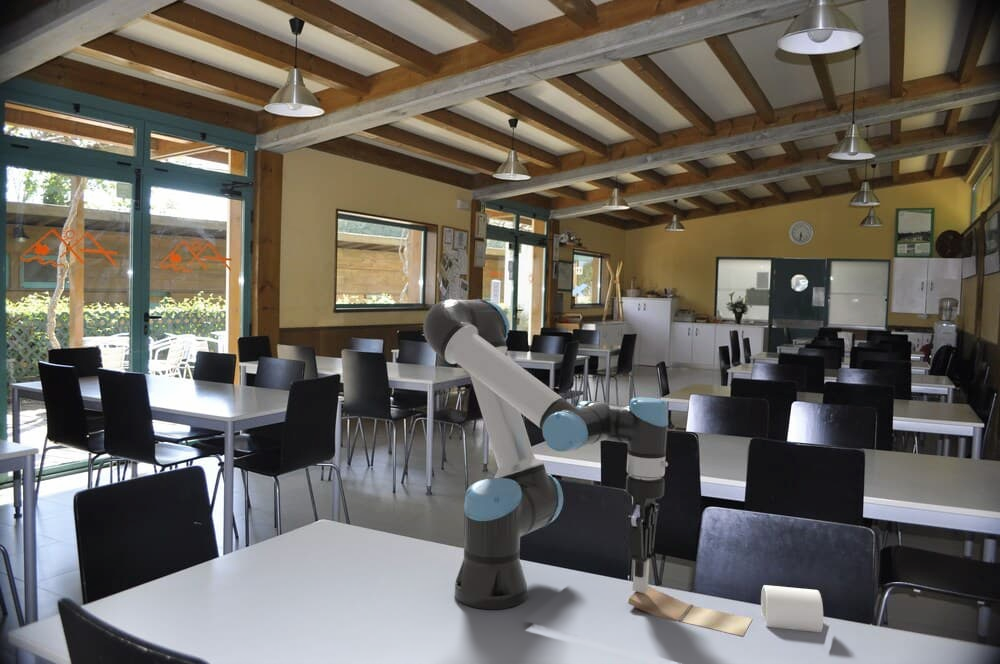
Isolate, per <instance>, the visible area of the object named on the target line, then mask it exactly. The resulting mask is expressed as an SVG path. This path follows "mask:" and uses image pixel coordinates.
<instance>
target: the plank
mask: <svg viewBox="0 0 1000 664" xmlns="http://www.w3.org/2000/svg"><path fill="white" fill-rule="evenodd" d="M627 604H629V605H630V606H633V607H635V608H636V609H639V610H641V611H643V612H646V613H647V614H649V615H651V616H655V617H659V618H664V619H668V620H671V621H675V622H679V621H678V620H679V618H680V617H681V616H682V615H683V613H684V612H685V611H686V609H687V608H688V607H689V606H690V604H688V603H686V602H684V601H682V600H680V599H678V598H675V597H673V596H671V595H668V594H666V593H664V592H663V591H660V590H658V589H656V588H653V587H651V586H649V585H648V591H647V592H646V593H641V592H637V591H634V593H632V595H630V596H629V599H628V602H627Z"/></svg>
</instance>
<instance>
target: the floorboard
mask: <svg viewBox="0 0 1000 664" xmlns="http://www.w3.org/2000/svg"><path fill="white" fill-rule="evenodd" d="M689 605H690V606H689V607H688V608H687V609H686V611H685V612H684V613H683V615H682V616H681V617H680V618H679V620H678V621H677V622H680V623H683V624H689V625H692V626H696V627H701V628H706V629H710V630H713V631H717V632H718V631H719V632H720V633H721V632H723V633H725V634H728V635H729V634H730V635H734V636H738V637H742V638H743V637H744V636H745V634H746V633H747V632H746V631H747V630H748V628H749V626H750V625H751V622H752V621H753V619H752V618H750V617H746V616H742V615H737V614H736V615H735V614H732V613H728V612H722V611H720V610H719V611H718V610H714V609H710V608H705V607H702V606H701V607H700V606H696V605H694V604H689Z"/></svg>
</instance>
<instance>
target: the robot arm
mask: <svg viewBox="0 0 1000 664" xmlns="http://www.w3.org/2000/svg"><path fill="white" fill-rule="evenodd" d="M422 327H423V329H422V330H423V334H424V338H425V340H426V342H427V343H428V346H429V347H430V348H431V349H432V350H433V351H434V352H435V353H436V355H438V356H440V357H441V358H442V359H443V360H445V361H446V362H447V363H449V364H452V365H455V364H457V365H459V366H460V368H462V369H464V370H465V371H466V372H468V373H469V376H470V380H471V384H472V386H473V390H474V393H475V396H476V400H477V403H478V406H479V409H480V412H481V416H482V419H483V423H484V425H485V429H486V432H487V436H488V439H489V443H490V445H491V450H492V451H493V452H492V453H493V456H494V459H495V462H496V464H497V465H496V466H497V471H496V473H495V475H494V477H492V478H491V479H489V478H486V479H481V480H478V481H476V482H474V483H472V484H471V485H469V487H468V488H467V489H466V492H465V499H464V503H463V512H464V520H463V521H464V524H463V525H464V526H463V527H464V532H463V534H464V535H463V536H464V537H463V559H462V562H461V564H460V568H459V571H458V573H457V577H456V578H455V579H456V580H455V582H454V597H455V598H456V600H457V601H459V602H460V603H461V604H463V605H465V606H468V607H471V608H475V609H480V610H481V609H482V610H501V609H509V608H513V607H515V606H516V607H517V606H518V605H520V604H523V603H524V602H525V601H526V599H527V597H528V583H527V580H526V577H525V573H524V570H523V566H522V564H521V560H520V553H521V549H520V548H521V547H520V546H521V537H523V536H526V535H527V534H529V533H532V532H534V531H536V530H540V529H543V528H545V527H547V526H548V525H550V523H552V522H554V521H555V520H556V519H557V518H558V516H559V514H560V513H561V511H562V508H563V504H564V495H563V494H564V493H563V489H562V486H561V484H560V482H559V480H557V478H556V477H553V476H552V474H550V473H549V472H547V469H546V467H545V464H544V461H541V460H540V459H538V458H536V457H535V454H534V451H533V448H532V445H531V442H530V437H529V435H528V432H527V429H526V426H525V423H524V422H525V421H524V418H523V416H524V417H526V419H528V420H529V421H530V422H531V423H533V424H534V425H536V426H537V427H538V428H539V429H540V430H542V437H543V438H544V442H545V443H546V445H547V446H548V447H550V448H551V449H552V450H554V451H556V452H559V453H560V452H570V451H576V450H579V449H581V448H583V447H586V446H589V445H592V444H596V443H599V442H602V441H610V442H617V443H620V444H621V443H623V444H625V443H626V444H627V456H626V457H627V459H626V473H627V476H626V481H625V492H626V494H627V495H628V496H630V497H632V498H633V503H632V505H631V513H632V515H628V516H627V524H628V535H629V536H628V537H629V557H628V558H629V559H630V560H632V561H633V573H632V574H633V575H632V591H634V592H636V591H637V592H641V593H646V592H647V591H648V586H649V576H650V559H651V560H654V558H655V555H654V554H652V553H653V552H654V547H655V536H656V529H657V521H658V514H659V511H660V504H659V503H656V500H657V499H661V498H663V496H664V495H665V478H664V476H665V474H666V473H665V472H666V467H668V465H669V463H668V461H666V458H667V457H666V456H667V455H666V454H667V451H666V450H667V439H668V438H667V437H668V426H669V421H668V414H669V413H668V404H667V402H666V401H665V400H663V399H660V398H655V397H646V396H638V397H636V396H635V397H633V398H631V399H630V400H629V405H622V404H621V405H620V404H614V403H608V402H607V403H606V402H601V401H598V400H594V401H591V400H582V401H580V402H579V403H578V404H577V405H576V406H574V405H573V404H571V403H570V402H569V401H567V400H566V399H565V398H563V397H562V396H561V395H560V394H558V393H557V392H556V391H554V390H553V389H551V388H550V387H549V386H547V384H545V383H543V382H542V381H541V380H539V379H538V378H537V377H535V376H534V374H533V375H532V373H530V372H529V371H527V370H526V369H525V368H523V367H522V366H520V365H519V364H518V363H517V362H516V361H514V360H512V359H511V358H510V357H509V356H508V355H506V352H507V350H508V346H507V342H506V341H507V339H508V334H509V333H510V321H509V319H508V316H507V314H506V312H505V311H504V310H503V308H502V307H501V306H500V305H498V304H497V303H495V302H493V301H490V300H484V299H479V298H476V299H474V298H473V299H445V300H440V301H438V302H437V303H436V304H434V305H433V306H432V307H430V309H428V312H427V313H426V315H425V317H424V319H423V326H422ZM522 415H523V416H522Z"/></svg>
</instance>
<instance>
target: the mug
mask: <svg viewBox="0 0 1000 664" xmlns="http://www.w3.org/2000/svg"><path fill="white" fill-rule="evenodd" d="M823 604H824V603H823V598H822V595H821V593H820V591H819V590H818V589H809V588H798V587H788V586H781V585H780V586H779V585H767V584H766V585H765V584H763V586H762V589H761V595H760V612H761V613H760V615H761V616H762V617H766V618H765V624H764V626H765V627H767V628H774V629H784V630H785V629H786V630H793V631H803V632H812V633H813V632H814V633H822V631H823V627H824V606H823Z"/></svg>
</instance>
